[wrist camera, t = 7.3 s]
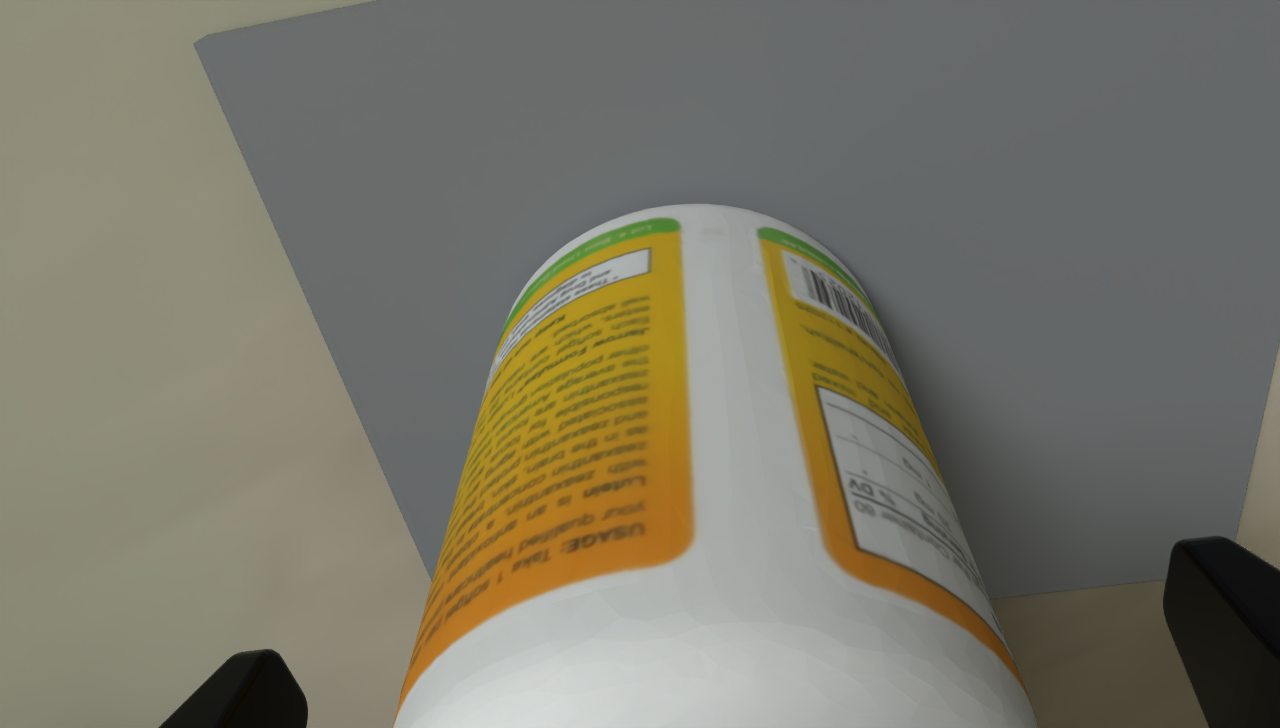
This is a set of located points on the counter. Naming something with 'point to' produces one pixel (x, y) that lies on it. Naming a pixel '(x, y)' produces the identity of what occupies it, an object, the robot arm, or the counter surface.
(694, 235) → the supplement bottle
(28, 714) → the counter surface
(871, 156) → the mat
